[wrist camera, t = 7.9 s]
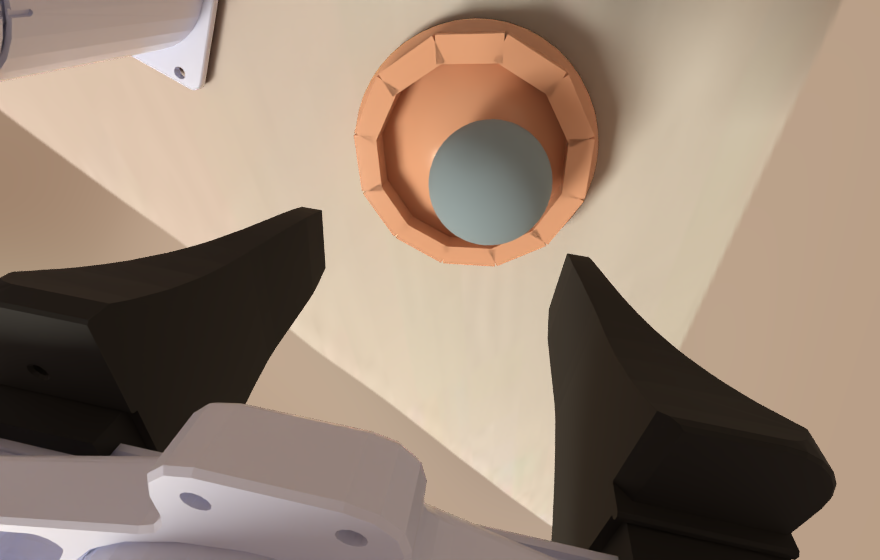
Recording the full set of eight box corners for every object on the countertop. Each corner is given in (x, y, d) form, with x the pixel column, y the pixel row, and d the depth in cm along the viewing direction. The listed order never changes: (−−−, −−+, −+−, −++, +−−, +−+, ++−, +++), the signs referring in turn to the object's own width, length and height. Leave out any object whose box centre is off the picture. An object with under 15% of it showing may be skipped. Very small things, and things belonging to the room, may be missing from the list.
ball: (398, 190, 20) (423, 250, 16) (449, 82, 17) (492, 121, 14) (487, 222, 22) (527, 281, 18) (542, 131, 20) (601, 176, 16)
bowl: (329, 189, 23) (317, 202, 21) (421, -43, 16) (412, -45, 15) (507, 287, 24) (506, 305, 23) (653, 111, 18) (663, 121, 17)
